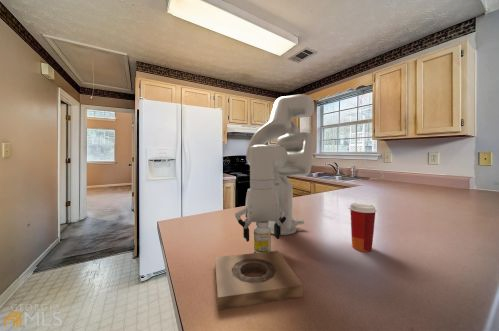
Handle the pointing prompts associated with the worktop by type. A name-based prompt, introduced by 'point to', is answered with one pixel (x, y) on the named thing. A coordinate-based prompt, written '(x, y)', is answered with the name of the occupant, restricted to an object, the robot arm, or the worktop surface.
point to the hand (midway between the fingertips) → (262, 238)
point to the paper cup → (362, 226)
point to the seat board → (254, 279)
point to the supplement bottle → (262, 237)
